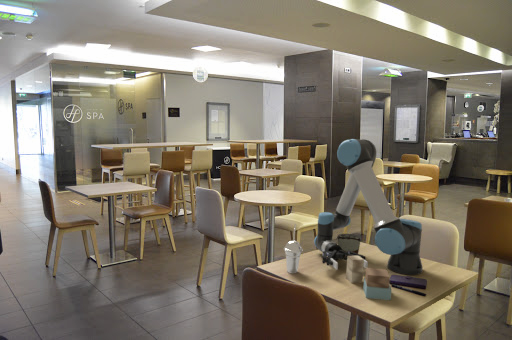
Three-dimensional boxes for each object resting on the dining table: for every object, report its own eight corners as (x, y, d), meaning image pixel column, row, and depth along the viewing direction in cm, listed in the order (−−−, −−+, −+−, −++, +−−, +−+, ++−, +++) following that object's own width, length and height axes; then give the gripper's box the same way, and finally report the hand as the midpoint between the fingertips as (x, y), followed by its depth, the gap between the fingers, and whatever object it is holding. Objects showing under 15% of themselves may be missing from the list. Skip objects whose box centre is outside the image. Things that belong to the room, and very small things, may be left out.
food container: (360, 253, 205) (361, 234, 204) (360, 257, 199) (362, 237, 198) (335, 251, 208) (337, 232, 207) (335, 254, 202) (336, 235, 201)
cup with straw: (278, 271, 175) (280, 226, 173) (289, 266, 182) (291, 223, 180) (295, 276, 170) (297, 230, 168) (306, 270, 177) (308, 226, 175)
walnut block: (385, 280, 158) (386, 269, 158) (388, 288, 150) (389, 277, 150) (365, 278, 160) (365, 267, 159) (366, 286, 152) (367, 274, 151)
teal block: (386, 291, 159) (387, 280, 158) (390, 300, 150) (391, 289, 150) (363, 289, 160) (363, 278, 160) (365, 298, 151) (366, 287, 151)
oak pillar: (356, 278, 171) (358, 255, 170) (362, 282, 166) (364, 259, 165) (345, 278, 170) (347, 255, 169) (351, 283, 165) (352, 259, 164)
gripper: (355, 257, 192) (378, 273, 172) (306, 258, 187) (323, 275, 166) (356, 241, 192) (379, 256, 171) (307, 243, 186) (324, 258, 166)
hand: (352, 265), depth 169 cm, fingers open, 13 cm apart
